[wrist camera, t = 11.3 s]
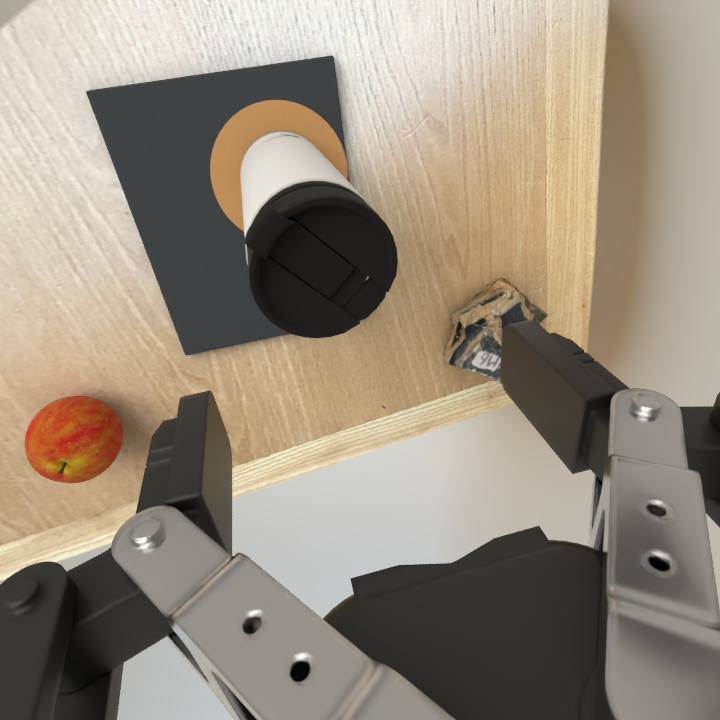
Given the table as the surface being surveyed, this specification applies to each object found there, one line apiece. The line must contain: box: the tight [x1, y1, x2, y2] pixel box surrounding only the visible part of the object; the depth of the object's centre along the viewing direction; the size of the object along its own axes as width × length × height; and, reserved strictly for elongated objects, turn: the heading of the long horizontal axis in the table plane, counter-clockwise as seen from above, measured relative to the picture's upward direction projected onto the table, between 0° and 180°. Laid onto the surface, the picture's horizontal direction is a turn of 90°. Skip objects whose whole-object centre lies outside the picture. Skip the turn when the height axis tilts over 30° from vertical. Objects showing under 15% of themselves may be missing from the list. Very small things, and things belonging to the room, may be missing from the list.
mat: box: [86, 56, 349, 355], centre depth 37 cm, size 20×16×1 cm
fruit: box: [25, 396, 123, 483], centre depth 40 cm, size 7×7×8 cm
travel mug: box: [240, 130, 398, 338], centre depth 27 cm, size 6×7×20 cm
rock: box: [443, 278, 548, 383], centre depth 45 cm, size 9×9×6 cm
